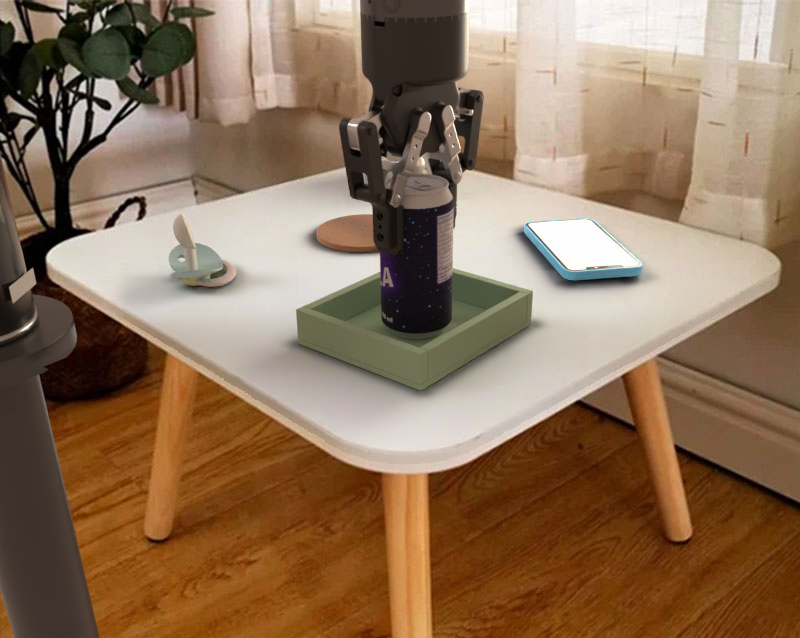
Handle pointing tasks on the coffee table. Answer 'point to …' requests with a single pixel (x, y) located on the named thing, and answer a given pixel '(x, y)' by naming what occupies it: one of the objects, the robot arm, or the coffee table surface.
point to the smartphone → (582, 249)
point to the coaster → (348, 233)
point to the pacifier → (196, 259)
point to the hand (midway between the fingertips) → (416, 239)
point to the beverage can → (420, 262)
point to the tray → (414, 358)
